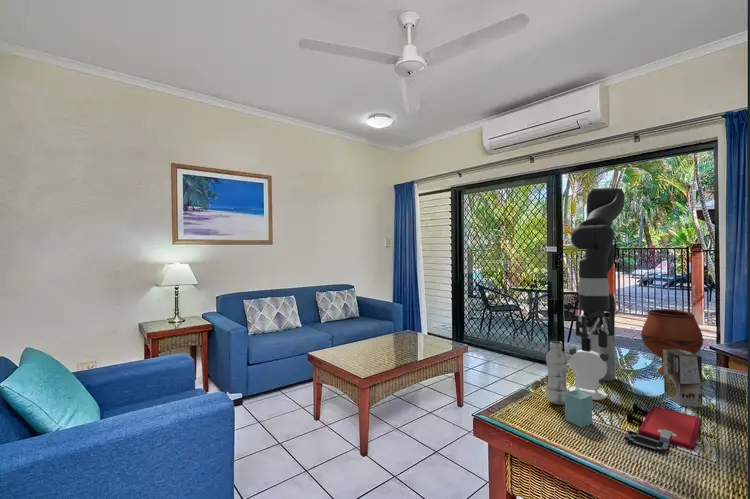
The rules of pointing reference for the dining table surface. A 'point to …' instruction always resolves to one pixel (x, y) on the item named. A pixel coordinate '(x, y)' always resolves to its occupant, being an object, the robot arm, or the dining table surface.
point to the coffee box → (683, 377)
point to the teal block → (578, 408)
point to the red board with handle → (664, 428)
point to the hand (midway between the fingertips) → (594, 349)
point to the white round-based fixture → (588, 371)
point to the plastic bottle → (556, 373)
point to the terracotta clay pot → (671, 332)
